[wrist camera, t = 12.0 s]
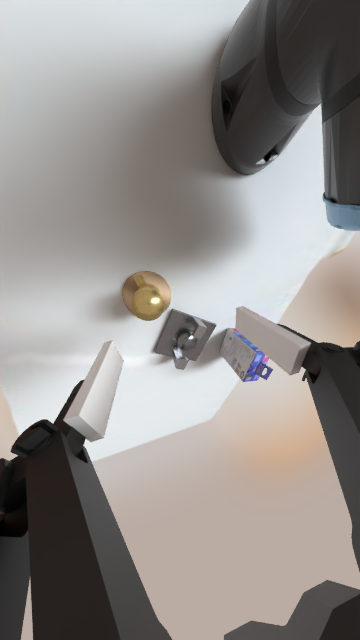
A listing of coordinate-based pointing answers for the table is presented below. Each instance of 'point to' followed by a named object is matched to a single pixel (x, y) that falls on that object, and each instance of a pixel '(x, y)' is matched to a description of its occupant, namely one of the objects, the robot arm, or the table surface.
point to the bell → (147, 300)
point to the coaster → (149, 278)
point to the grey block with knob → (184, 337)
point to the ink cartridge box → (244, 356)
